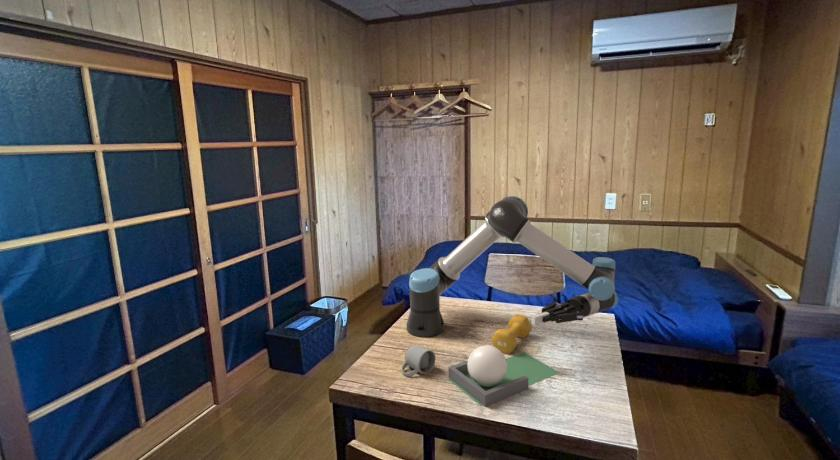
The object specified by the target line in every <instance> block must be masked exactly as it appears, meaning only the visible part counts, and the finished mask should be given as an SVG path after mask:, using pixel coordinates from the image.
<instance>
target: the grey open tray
mask: <svg viewBox="0 0 840 460" xmlns="http://www.w3.org/2000/svg"><path fill="white" fill-rule="evenodd" d="M467 363H468V360H466V361H462V362H460V363H457V364H454V365H451V366H448V367H447V368H448V379H451V380H452V381H454V382H455V383H456V384H457V385H459V386H460V387H461V388H462V389H464V390H465V391H466V392H467V393H469V394H470V395H471V396H472V397H474V398H475V399H476V400H477V401H479V402H480V403H481V404H482V405H481V406H484V407H487V406H490V405H492V404H494V403H497V402H500V401H502V400H504V399H506V398H509V397H511V396H514V395H516V394H517V393H519V394H520V393H521V392H523V391H526V390H528V389H529V386H528V377H526V376H523V377H520V378H518V379H515V380H513V381H510V382H507V383H505V384H502V385H500V386H497V387H495V388H492V389H490V390H487V391H485V390H484V389H482V388H481V387H480V386H478V385H477V384H476V383H474V382H473V381H472V380H470V379H469V378H468V377H466V376H465V374H468V373H469V372H468V367H467Z"/></svg>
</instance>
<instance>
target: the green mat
mask: <svg viewBox="0 0 840 460" xmlns="http://www.w3.org/2000/svg"><path fill="white" fill-rule="evenodd" d="M506 361H507V373H506V376H505V378H504V379H503V380H502V381H501V382H500V383H499V384H497V385H495V386H492V387H485V386H481V385H479V384H477V383H476V382H475V381H474V380H473V379H472V378H471V376H470V374H469V373H468V374H465V376H466V377H468V378H469V379H470V380H472V381H473V382H474V383H476V384H477V385H478V386H480V387H481V388H482V389H484V390H485V391H487V390H490V389H492V388H495V387H497V386H500V385H502V384H505V383H507V382H510V381H513V380H515V379H518V378H520V377H523V376H526V377H528V387H529V386H531V385H534V384H536V383H539V382H541V381H544V380H546V379H548V378H549V379H550V378H551V377H553V376H555V375H558V374H560V371H558V370H557V369H555V368H552V366H549V365H547V364H546V363H544V362H542V361H541V360H539V359H537V358H535V357H534V356H532V355H530V354H528V353H526V352H520V353H518V354H515V355H513V356H510V357H507V358H506ZM448 381H449V382H450V383H452V384H453V385H454V386H455V387H456V388H458V389H459V390H460V391H462V392H463V393H464V394H465V395H466V396H468V397H469V398H470V399H472V400H473V401H474V402H475V403H476V404H478V405H479V406H480V407H481V406H483V405H482V404H481V403H480V402H479V401H477V400H476V399H475V398H474V397H472V396H471V395H470V394H469V393H467V392H466V391H465V390H464V389H462V388H461V387H460V386H459V385H457V384H456V383H455V382H454V381H452V380H451V379H450V378H448Z"/></svg>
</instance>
